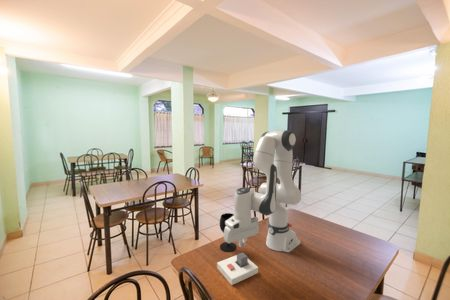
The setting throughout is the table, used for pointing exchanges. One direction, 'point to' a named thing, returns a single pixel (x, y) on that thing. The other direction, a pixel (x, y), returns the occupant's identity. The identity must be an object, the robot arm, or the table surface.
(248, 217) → the robot arm
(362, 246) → the table surface
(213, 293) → the table surface
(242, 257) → the plug
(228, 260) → the socket plate
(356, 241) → the table surface
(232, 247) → the wine glass
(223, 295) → the table surface
